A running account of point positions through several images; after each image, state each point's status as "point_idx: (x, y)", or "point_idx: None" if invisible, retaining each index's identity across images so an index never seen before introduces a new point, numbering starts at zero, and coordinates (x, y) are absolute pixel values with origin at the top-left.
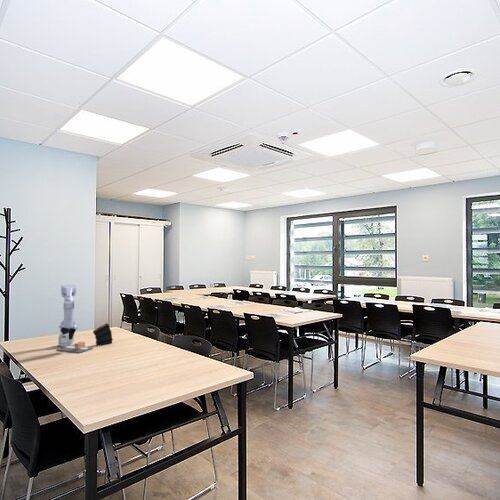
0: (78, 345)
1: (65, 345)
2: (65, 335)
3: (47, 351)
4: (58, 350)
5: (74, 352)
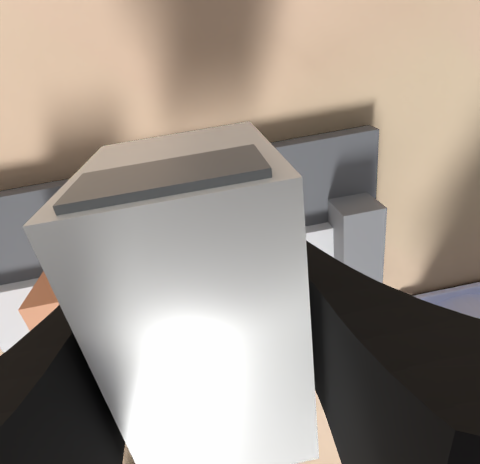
0: (33, 294)
1: (341, 251)
2: (60, 220)
3: (466, 32)
4: (337, 132)
5: (39, 184)
